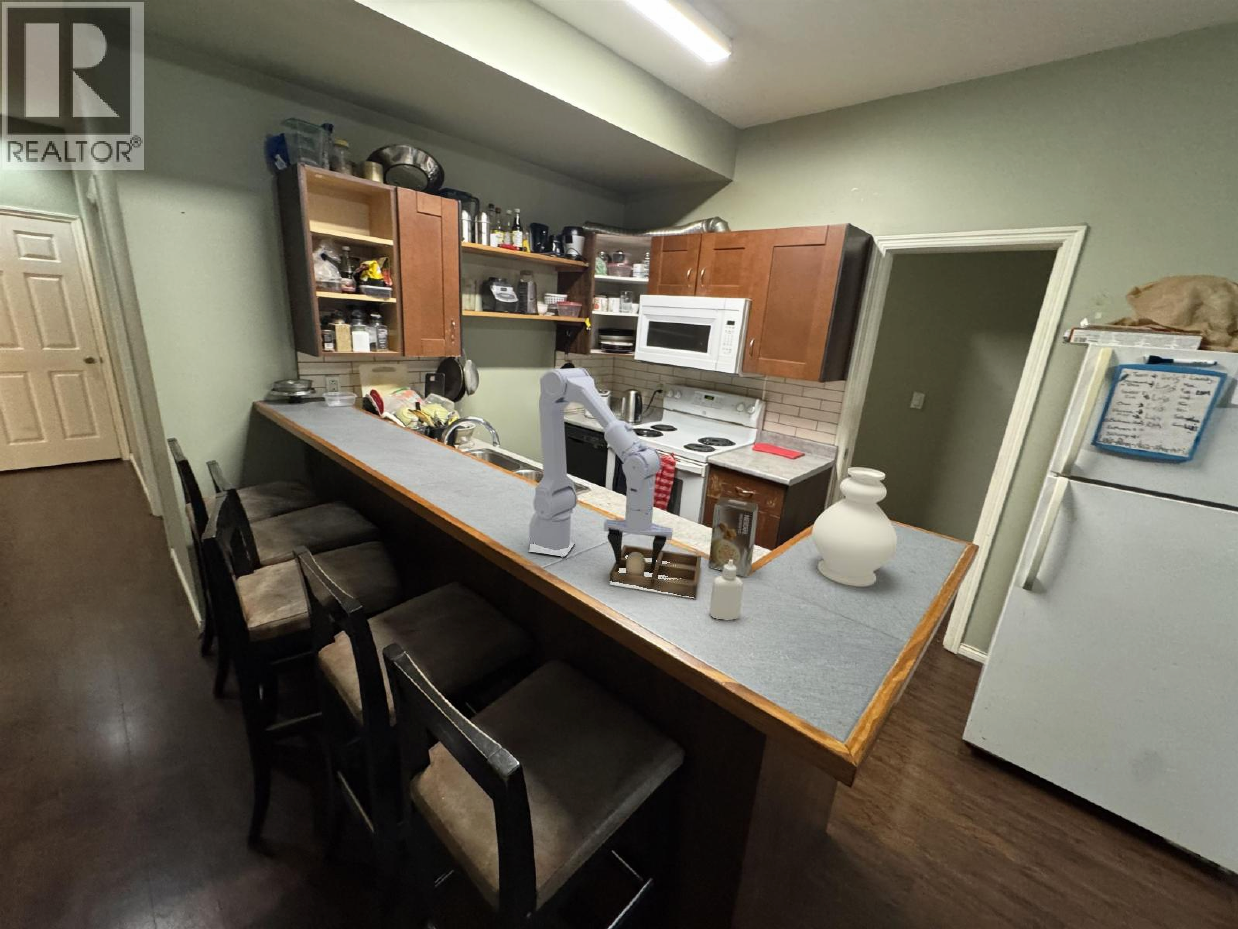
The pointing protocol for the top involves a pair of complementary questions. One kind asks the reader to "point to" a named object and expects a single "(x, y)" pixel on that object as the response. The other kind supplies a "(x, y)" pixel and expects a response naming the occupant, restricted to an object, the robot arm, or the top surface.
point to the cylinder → (635, 564)
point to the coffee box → (733, 534)
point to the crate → (662, 571)
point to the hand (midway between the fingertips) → (635, 564)
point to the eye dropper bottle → (726, 594)
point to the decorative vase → (855, 531)
